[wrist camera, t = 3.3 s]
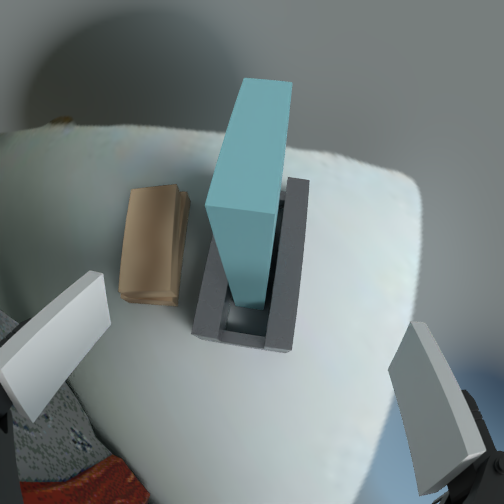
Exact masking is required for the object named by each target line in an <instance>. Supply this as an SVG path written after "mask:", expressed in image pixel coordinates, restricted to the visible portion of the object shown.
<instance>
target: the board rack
mask: <svg viewBox="0 0 504 504" xmlns="http://www.w3.org/2000/svg"><path fill="white" fill-rule="evenodd" d="M308 194H309V180H305V179H298V178H291V177H288V180H287V187H286V192H282V191H280V198H279V206H278V208H283V216H282V223H281V231H280V239H279V246H278V253H277V261H276V268H275V275H274V282H273V289H272V296H271V302H270V309H269V316H268V322H267V329H266V335H265V337H263V336H256V335H250V334H243V333H237V332H231V331H226V325H227V320H228V314H229V309H230V303H231V298H232V293H231V290H230V287H229V283H228V280H227V277H226V274H225V271H224V267H223V264H222V261H221V258H220V254H219V251H218V248H217V245H216V241H215V238H214V235H213V236H212V240H211V244H210V249H209V253H208V258H207V262H206V266H205V271H204V276H203V280H202V285H201V289H200V294H199V299H198V304H197V308H196V313H195V318H194V323H193V328H192V333H191V334H192V335H194V336H196V337H198V338H200V339H203V340H208V341H213V342H219V343H224V344H230V345H236V346H242V347H248V348H254V349H261V350H268V351H275V352H283V353H287V352H289V351H291V350H292V344H293V337H294V329H295V322H296V314H297V306H298V298H299V289H300V280H301V271H302V262H303V252H304V242H305V231H306V219H307V207H308Z"/></svg>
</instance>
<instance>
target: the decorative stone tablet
mask: <svg viewBox="0 0 504 504" xmlns="http://www.w3.org/2000/svg"><path fill="white" fill-rule="evenodd" d="M18 325H19V323H18V322H16V321H15V320H13V319H12V318H11V317H9V316H8V315H6V314H5V313H4V312H2V311H1V310H0V341H1V340H2V339H3V338H6V336H7V335H8V334H9V333H10V332H12V330H13V329H14V328H15V327H16V326H18ZM10 410H11V411H12V415H13V434H14V446H15V455H16V463H17V470H18V477H19V482H20V488H21V493H22V498H23V502H24V504H148V501H149V497H150V494H149V492H148V491H147V490H146V489H145V488H144V486H143V485H142V484H141V483H140V482H139V480H138V479H137V478H136V477H135V475H134V474H133V473H132V472H131V470H130V469H129V468H128V466H127V465H126V464H125V462H124V461H123V460H122V459H121V458H119V457H117V456H115V455H113V454H112V453H111V452H110V451H109V450H108V449H107V448H106V447H105V446H104V445H103V444H102V443H101V442H100V441H99V440H98V439H97V438H96V437H95V435H94V432H93V429H92V427H91V424H90V421H89V419H88V417H87V415H86V414H85V412H84V410H83V409H82V407H81V405H80V403H79V402H78V400H77V398H76V397H75V395H74V394H73V393H72V391H71V390H70V388H69V387H68V385H67V384H66V382H64V383H63V384H62V385H61V387H60V388H59V389H58V391H57V392H56V393H55V395H54V396H53V397H52V399H51V400H50V401H49V403H48V404H47V405H46V407H45V408H44V409H43V411H42V412H41V413H40V415H39V416H38V417H37V419H36V420H35V422H34V423H32V422H31V421H29V420H27V419H26V418H24V417H23V416H21V415H20V414H19V413H18V411H17V410H16V408H15V406H14V405H12V406H11V408H10Z"/></svg>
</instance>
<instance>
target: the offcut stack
mask: <svg viewBox="0 0 504 504" xmlns="http://www.w3.org/2000/svg"><path fill="white" fill-rule="evenodd" d="M189 209H190V199H189V196H188V193H187V192H180V191H179V189H178V186H177V184H173V185H163V186H154V187H146V188H138V189H131V193H130V199H129V205H128V211H127V218H126V225H125V232H124V239H123V248H122V256H121V266H120V277H119V289H118V292H120V293H121V297H120V298H122V299H123V300H125V301H127V302H129V303H139V304H152V305H165V306H178V298H179V288H180V279H181V270H182V261H183V253H184V245H185V237H186V230H187V223H188V216H189Z"/></svg>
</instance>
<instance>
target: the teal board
mask: <svg viewBox="0 0 504 504" xmlns="http://www.w3.org/2000/svg"><path fill="white" fill-rule="evenodd" d="M291 92H292V82H284V81H275V80H264V79H253V78H244V80H243V83H242V85H241V88H240V91H239V94H238V97H237V100H236V103H235V106H234V109H233V112H232V115H231V119H230V122H229V125H228V128H227V131H226V134H225V137H224V141H223V144H222V147H221V150H220V154H219V157H218V160H217V164H216V167H215V171H214V174H213V178H212V181H211V185H210V188H209V192H208V195H207V199H206V202H205V208H206V211H207V215H208V218H209V221H210V225H211V228H212V231H213V235H214V238H215V241H216V245H217V248H218V251H219V254H220V258H221V261H222V264H223V267H224V271H225V274H226V277H227V280H228V283H229V287H230V290H231V293H232V296H233V299H234V302H235V305H236V306H239V307H246V308H252V309H259V310H264V304H265V298H266V291H267V285H268V278H269V271H270V264H271V258H272V251H273V244H274V237H275V230H276V222H277V214H278V206H279V198H280V190H281V182H282V173H283V165H284V156H285V147H286V139H287V130H288V120H289V111H290V101H291Z"/></svg>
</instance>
